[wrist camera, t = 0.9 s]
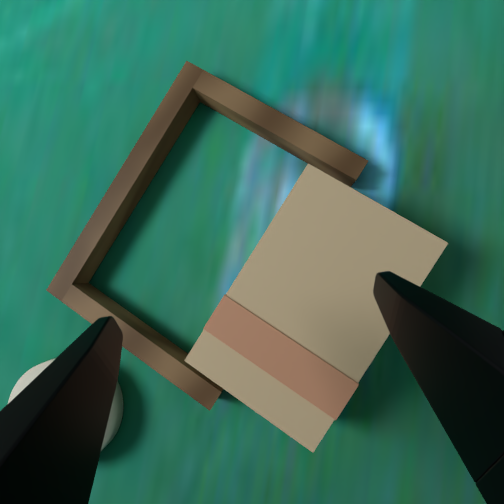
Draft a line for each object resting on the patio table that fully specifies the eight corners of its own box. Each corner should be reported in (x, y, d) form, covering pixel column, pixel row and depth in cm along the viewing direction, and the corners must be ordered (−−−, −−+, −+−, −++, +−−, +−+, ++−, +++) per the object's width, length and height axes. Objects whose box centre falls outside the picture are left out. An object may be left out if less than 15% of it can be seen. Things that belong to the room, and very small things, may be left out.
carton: (413, 248, 20) (450, 243, 16) (307, 412, 20) (313, 454, 16) (302, 184, 21) (307, 162, 17) (204, 340, 22) (182, 360, 17)
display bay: (361, 170, 21) (368, 160, 19) (216, 398, 21) (209, 410, 19) (194, 77, 23) (186, 60, 21) (64, 288, 23) (46, 290, 21)
